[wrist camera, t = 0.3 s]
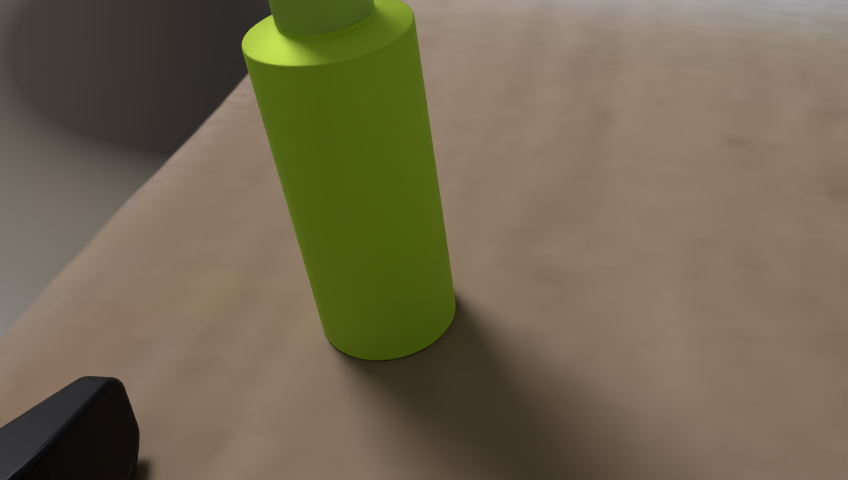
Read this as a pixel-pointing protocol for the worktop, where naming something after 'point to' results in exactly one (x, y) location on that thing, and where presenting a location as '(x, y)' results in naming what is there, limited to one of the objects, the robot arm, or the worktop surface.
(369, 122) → the soap dispenser
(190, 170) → the worktop surface
